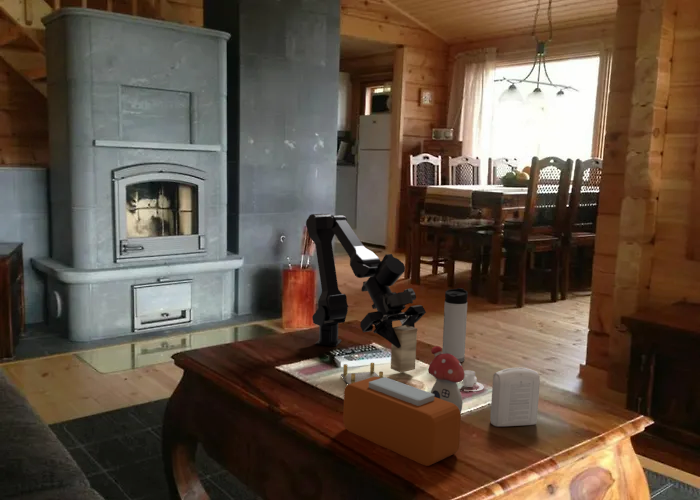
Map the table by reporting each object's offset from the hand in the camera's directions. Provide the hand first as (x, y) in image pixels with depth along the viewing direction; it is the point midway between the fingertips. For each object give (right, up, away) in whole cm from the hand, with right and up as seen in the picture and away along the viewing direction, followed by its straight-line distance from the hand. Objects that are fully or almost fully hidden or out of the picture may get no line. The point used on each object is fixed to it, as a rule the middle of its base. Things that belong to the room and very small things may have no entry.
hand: (407, 345), depth 172 cm
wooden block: (-1, -6, +2) cm, 7 cm away
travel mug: (+14, -6, +16) cm, 23 cm away
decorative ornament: (+6, -12, -24) cm, 28 cm away
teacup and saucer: (+18, -10, -5) cm, 21 cm away
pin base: (-12, -8, -4) cm, 15 cm away
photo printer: (+20, -13, -28) cm, 37 cm away
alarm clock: (-5, -14, -39) cm, 42 cm away
